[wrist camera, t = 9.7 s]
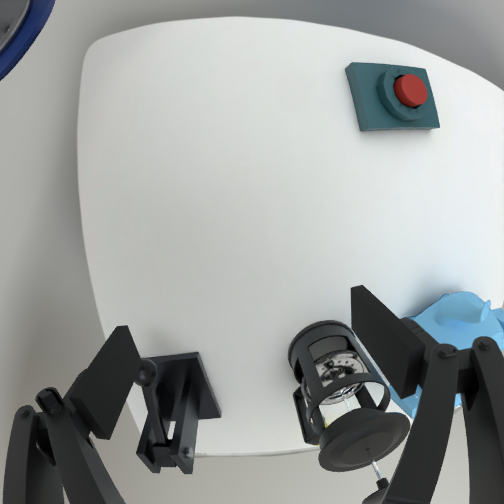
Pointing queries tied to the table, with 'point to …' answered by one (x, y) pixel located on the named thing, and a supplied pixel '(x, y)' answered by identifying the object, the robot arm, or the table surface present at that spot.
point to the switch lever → (155, 413)
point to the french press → (340, 389)
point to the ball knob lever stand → (179, 408)
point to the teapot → (455, 331)
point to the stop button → (410, 90)
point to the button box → (388, 98)
